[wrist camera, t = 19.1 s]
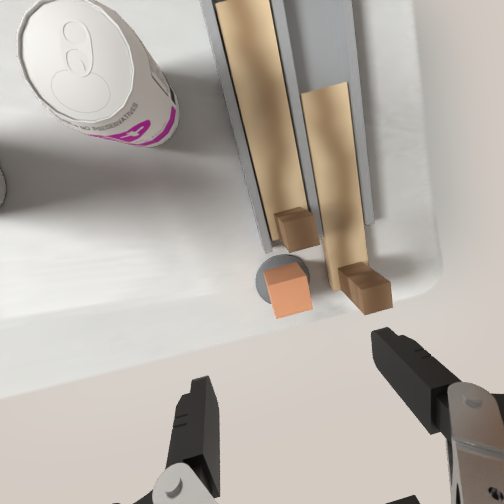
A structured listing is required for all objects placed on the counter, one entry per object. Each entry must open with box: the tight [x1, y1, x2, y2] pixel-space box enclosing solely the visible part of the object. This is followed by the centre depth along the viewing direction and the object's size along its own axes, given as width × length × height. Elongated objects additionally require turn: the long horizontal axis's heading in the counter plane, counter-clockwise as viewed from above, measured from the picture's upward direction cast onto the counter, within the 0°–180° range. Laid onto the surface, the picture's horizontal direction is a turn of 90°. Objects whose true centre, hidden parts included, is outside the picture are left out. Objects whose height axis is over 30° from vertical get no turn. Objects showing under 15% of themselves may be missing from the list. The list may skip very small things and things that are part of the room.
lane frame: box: [200, 0, 375, 253], centre depth 32 cm, size 15×30×2 cm, turn 15°
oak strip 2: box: [299, 82, 393, 315], centre depth 32 cm, size 6×26×9 cm, turn 14°
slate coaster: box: [256, 255, 310, 304], centre depth 39 cm, size 8×8×1 cm
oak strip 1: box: [215, 0, 320, 253], centre depth 29 cm, size 6×26×8 cm, turn 14°
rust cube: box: [263, 262, 313, 319], centre depth 36 cm, size 5×5×5 cm
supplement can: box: [16, 0, 180, 147], centre depth 24 cm, size 8×8×15 cm
